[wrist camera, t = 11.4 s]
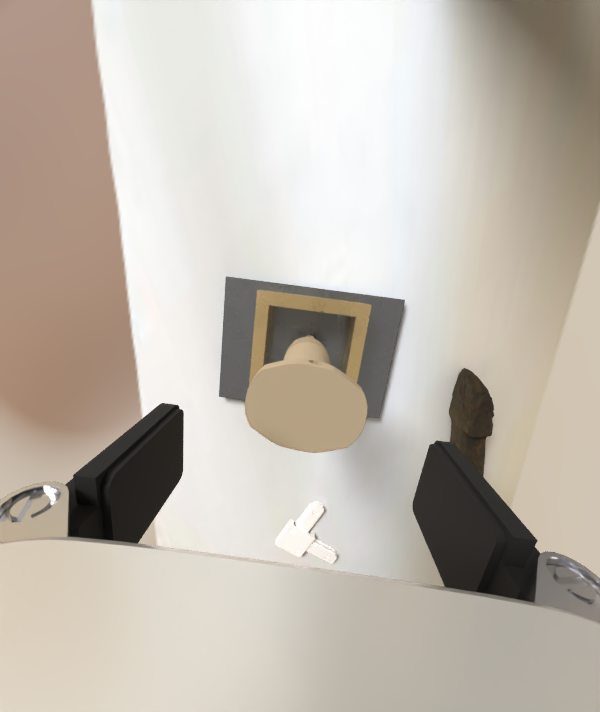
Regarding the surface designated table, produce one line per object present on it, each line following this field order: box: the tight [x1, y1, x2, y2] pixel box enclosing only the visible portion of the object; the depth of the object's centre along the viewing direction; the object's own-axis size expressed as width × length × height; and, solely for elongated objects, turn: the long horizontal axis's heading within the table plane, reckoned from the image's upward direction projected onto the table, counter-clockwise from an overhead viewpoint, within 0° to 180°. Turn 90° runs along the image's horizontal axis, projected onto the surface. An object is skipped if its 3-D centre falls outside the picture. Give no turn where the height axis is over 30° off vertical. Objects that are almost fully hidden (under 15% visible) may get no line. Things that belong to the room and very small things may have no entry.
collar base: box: [219, 277, 405, 418], centre depth 28 cm, size 13×18×4 cm
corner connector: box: [275, 501, 337, 564], centre depth 36 cm, size 8×8×2 cm
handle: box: [245, 335, 367, 453], centre depth 22 cm, size 5×6×15 cm
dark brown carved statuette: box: [449, 368, 494, 476], centre depth 30 cm, size 19×4×5 cm, turn 3°
